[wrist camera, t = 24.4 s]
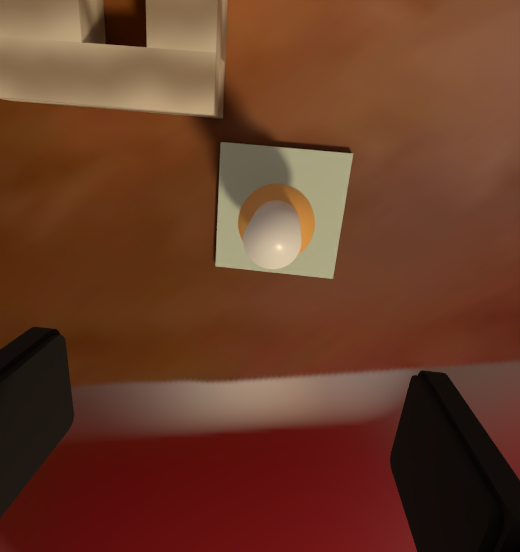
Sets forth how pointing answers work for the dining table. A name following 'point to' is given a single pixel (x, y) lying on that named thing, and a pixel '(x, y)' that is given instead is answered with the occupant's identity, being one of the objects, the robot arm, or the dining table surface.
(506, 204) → the dining table surface
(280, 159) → the mat
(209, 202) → the dining table surface
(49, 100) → the socket block
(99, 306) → the dining table surface
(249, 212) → the plug
